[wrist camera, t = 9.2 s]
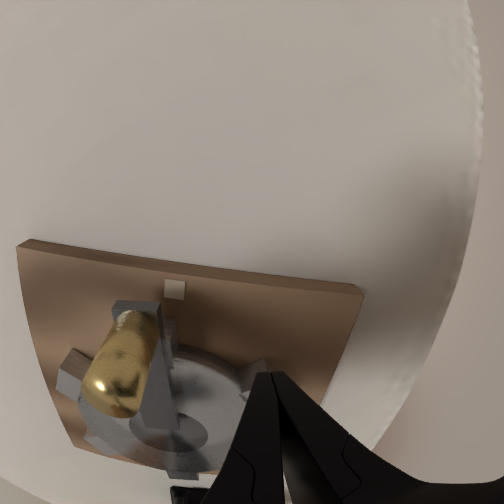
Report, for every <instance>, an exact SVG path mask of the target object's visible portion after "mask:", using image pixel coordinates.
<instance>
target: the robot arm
mask: <svg viewBox="0 0 504 504" xmlns="http://www.w3.org/2000/svg"><path fill="white" fill-rule="evenodd" d="M348 434H349V432H347V431H346V430H345V429H344V428H343V427H342V426H341V425H340V424H339V423H337V422H336V421H335V420H334V419H333V418H332V417H331V416H330V415H329V414H328V413H327V412H325V411H324V410H323V409H322V408H321V407H320V406H319V405H318V404H317V403H316V402H315V401H314V400H313V399H312V398H311V397H309V396H308V395H307V394H306V393H305V392H304V391H303V390H302V389H301V388H300V387H299V386H298V385H297V384H296V383H295V382H294V381H293V380H292V379H291V378H290V377H289V376H288V375H287V374H286V373H285V372H284V371H272V372H257V374H256V376H255V379H254V382H253V385H252V388H251V391H250V394H249V396H248V399H247V402H246V405H245V408H244V411H243V413H242V416H241V419H240V422H239V424H238V427H237V430H236V433H235V435H234V438H233V441H232V443H231V446H230V449H229V451H228V453H227V456H226V458H225V461H224V463H223V465H222V467H221V470H220V472H219V474H218V475H217V477H216V479H215V481H214V482H213V484H212V486H211V487H210V489H209V490H196V489H186V488H178V487H170V493H171V500H172V504H285V495H284V479H283V472H284V475H285V479H286V482H287V486H288V489H289V493H290V496H291V500H292V503H293V504H504V476H503V477H501V478H500V479H497V480H495V481H492V482H487V483H473V484H472V483H471V484H443V483H429V482H424V481H421V480H418V479H415V478H413V477H411V476H410V475H408V474H406V473H405V472H403V471H401V470H399V469H398V468H396V467H395V466H393V465H391V464H390V463H388V462H386V461H385V460H383V459H382V458H380V457H379V456H377V455H376V454H374V453H373V452H372V451H370V450H369V449H368V448H366V447H365V446H364V445H363V444H361V443H360V442H359V441H358V440H357V439H355V438H354V437H353V436H352V435H351V434H349V435H348Z"/></svg>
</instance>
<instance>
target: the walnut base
mask: <svg viewBox="0 0 504 504" xmlns="http://www.w3.org/2000/svg"><path fill="white" fill-rule="evenodd" d="M16 251H17V261H18V269H19V277H20V284H21V290H22V296H23V301H24V306H25V311H26V316H27V320H28V325H29V329H30V333H31V337H32V340H33V344H34V348H35V351H36V354H37V358H38V361H39V364H40V367H41V370H42V373H43V376H44V379H45V382H46V384H47V387H48V390H49V392H50V395H51V397H52V400H53V402H54V405H55V407H56V409H57V412H58V414H59V416H60V419H61V421H62V423H63V425H64V427H65V429H66V431H67V433H68V435H69V437H70V439H71V441H72V443H73V445H74V447H77V448H80V449H83V450H86V451H89V452H93V453H96V454H99V455H103V456H106V457H110V458H114V459H118V460H122V461H126V462H130V463H135V464H140V463H138V462H135V461H133V460H131V459H128V458H126V457H124V456H122V455H121V454H114V455H105V454H103V453H102V452H100V451H99V450H98V449H96V448H95V447H94V446H92V445H91V444H90V443H89V442H87V441H86V440H85V439H84V436H85V433H86V430H87V428H88V426H87V425H86V423H85V422H84V420H83V418H82V416H81V414H80V411H79V408H78V402H76V401H74V400H72V399H71V398H69V397H67V396H65V395H64V394H62V393H60V392H59V391H57V390H56V384H57V377H58V371H59V367H60V366H61V364H62V363H63V361H64V359H65V358H66V356H67V355H68V353H69V352H70V350H71V349H74V350H76V351H77V352H79V353H81V354H82V355H84V356H86V357H87V358H89V359H91V360H94V358H95V356H96V354H97V352H98V350H99V349H100V347H101V345H102V343H103V341H104V340H105V338H106V336H107V334H108V332H109V331H110V329H111V327H112V325H113V324H114V320H113V315H112V310H111V308H112V307H113V305H114V304H115V302H116V301H117V300H129V301H155V302H161V311H162V317H165V318H176V326H177V335H178V343H180V344H185V345H188V346H192V347H195V348H199V349H202V350H204V351H207V352H209V353H212V354H214V355H216V356H218V357H220V358H222V359H224V360H226V361H227V362H229V363H231V364H232V365H234V366H235V367H236V368H238V369H241V368H243V367H246V366H248V365H250V364H252V363H255V362H257V361H259V360H261V359H263V358H265V360H266V361H267V363H268V364H269V365H270V367H271V368H272V370H273V371H284V372H285V373H286V374H287V375H288V376H289V377H290V378H291V379H292V380H293V381H294V382H295V383H296V384H297V385H298V386H299V387H300V388H301V389H302V390H303V391H304V392H305V393H306V394H307V395H308V396H309V397H311V398H312V399H313V400H314V401H315V402H316V403H317V404H318V405H319V404H320V402H321V400H322V398H323V396H324V394H325V392H326V389H327V387H328V385H329V383H330V381H331V379H332V376H333V374H334V372H335V370H336V367H337V365H338V363H339V360H340V358H341V356H342V353H343V351H344V348H345V346H346V343H347V341H348V338H349V336H350V333H351V331H352V328H353V325H354V323H355V320H356V317H357V315H358V312H359V309H360V306H361V303H362V301H363V298H364V295H363V294H362V293H361V292H360V291H359V290H358V289H357V287H356V286H355V285H354V284H345V283H336V282H327V281H318V280H310V279H301V278H293V277H284V276H276V275H268V274H260V273H252V272H244V271H237V270H229V269H222V268H214V267H207V266H199V265H192V264H185V263H178V262H171V261H164V260H157V259H150V258H144V257H137V256H130V255H124V254H117V253H111V252H104V251H98V250H92V249H86V248H79V247H73V246H67V245H61V244H55V243H50V242H44V241H38V240H32V239H29V240H27V241H25V242H23V243H21V244H19V245H18V246H16ZM140 465H143V464H140ZM145 466H146V465H145ZM220 470H221V469H220ZM220 470H215V471H210V472H199V473H202V474H216V475H218V474H219V472H220Z"/></svg>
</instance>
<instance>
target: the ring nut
mask: <svg viewBox="0 0 504 504" xmlns="http://www.w3.org/2000/svg"><path fill="white" fill-rule="evenodd" d="M111 310H112V315H113V320H114V324H113V325H112V327H111V329H110V331H109V332H108V334H107V336H106V338H105V340H104V341H103V343H102V345H101V347H100V349H99V350H98V352H97V354H96V356H95V358H94V360H91V359H89V358H87V357H86V356H84V355H82V354H81V353H79V352H77V351H76V350H74V349H71V350H70V352H69V353H68V355H67V356H66V358H65V359H64V361H63V363H62V364H61V366H60V367H59V371H58V377H57V384H56V390H57V391H59V392H60V393H62V394H64V395H65V396H67V397H69V398H71V399H72V400H74V401H76V402H78V408H79V411H80V414H81V416H82V418H83V420H84V422H85V423H86V425H87V426H88V428H87V430H86V433H85V436H84V439H85V440H86V441H87V442H89V443H90V444H91V445H92V446H94V447H95V448H96V449H98V450H99V451H100V452H102V453H103V454H105V455H114V454H121V455H122V456H124V457H126V458H128V459H131V460H133V461H135V462H138V463H140V464H143V465H146V466H149V467H153V468H157V469H161V470H166V472H167V474H168V476H169V478H171V479H183V480H199V472H210V471H215V470H220V469H221V467H222V465H223V463H224V461H225V458H226V456H227V453H228V451H229V449H230V446H231V443H232V441H233V438H234V435H235V433H236V430H237V427H238V424H239V422H240V419H241V416H242V413H243V411H244V408H245V405H246V402H247V399H248V396H249V394H250V391H251V388H252V385H253V382H254V379H255V376H256V374H257V372H272V371H273V370H272V368H271V367H270V365H269V364H268V363H267V361H266V360H265V358H263V359H261V360H259V361H257V362H255V363H252V364H250V365H248V366H246V367H243V368H241V369H238V368H236V367H235V366H234V365H232V364H231V363H229V362H227V361H226V360H224V359H222V358H220V357H218V356H216V355H214V354H212V353H209V352H207V351H204V350H202V349H199V348H195V347H192V346H188V345H185V344H180V343H178V335H177V326H176V318H165V317H162V311H161V302H155V301H129V300H117V301H116V302H115V304H114V305H113V307H112V308H111Z"/></svg>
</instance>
